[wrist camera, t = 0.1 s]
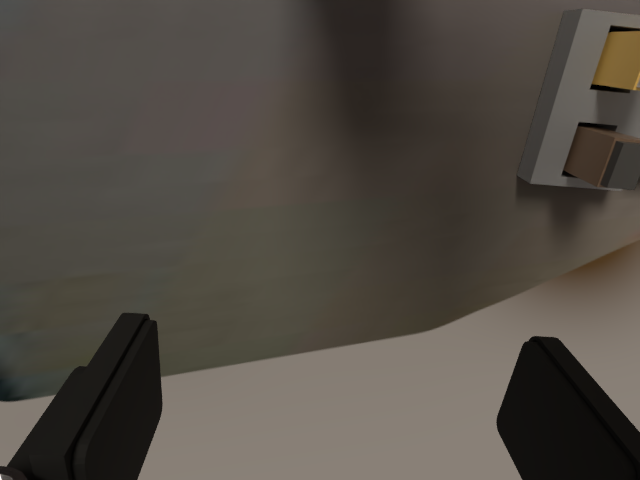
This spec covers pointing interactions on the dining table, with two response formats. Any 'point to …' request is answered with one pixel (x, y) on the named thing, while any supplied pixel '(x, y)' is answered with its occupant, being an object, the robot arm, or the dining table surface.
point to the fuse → (620, 61)
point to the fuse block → (577, 97)
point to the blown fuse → (604, 157)
